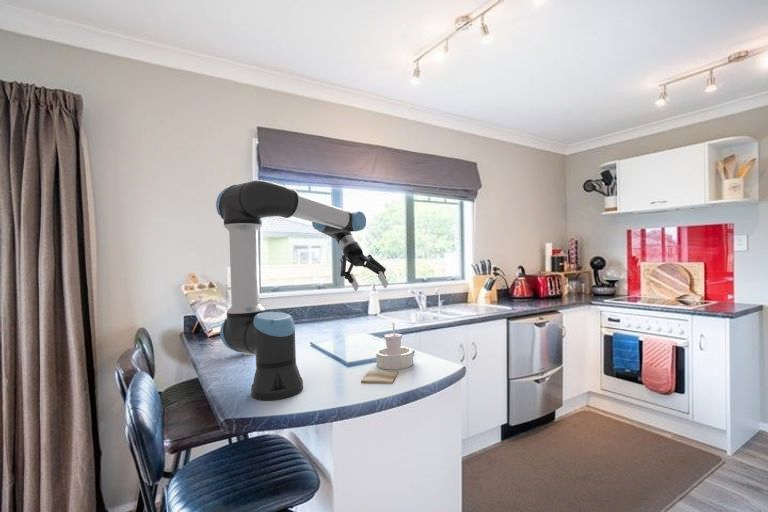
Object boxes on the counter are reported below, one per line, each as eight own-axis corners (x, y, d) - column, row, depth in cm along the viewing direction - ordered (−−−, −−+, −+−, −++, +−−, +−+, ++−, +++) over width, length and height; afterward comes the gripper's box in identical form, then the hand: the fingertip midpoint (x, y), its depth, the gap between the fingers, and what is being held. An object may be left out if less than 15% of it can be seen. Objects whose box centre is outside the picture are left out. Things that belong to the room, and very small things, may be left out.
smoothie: (397, 365, 133) (394, 325, 133) (382, 363, 137) (379, 324, 137) (406, 360, 138) (404, 322, 138) (392, 358, 142) (390, 321, 142)
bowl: (403, 371, 128) (403, 357, 128) (370, 367, 134) (369, 354, 134) (418, 360, 140) (417, 347, 140) (386, 358, 146) (386, 345, 146)
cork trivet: (392, 383, 117) (392, 381, 117) (361, 382, 119) (360, 380, 119) (398, 373, 127) (398, 371, 127) (369, 372, 129) (369, 370, 129)
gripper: (372, 254, 167) (394, 290, 155) (321, 255, 153) (340, 296, 141) (379, 241, 163) (401, 278, 151) (326, 242, 148) (347, 282, 136)
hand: (372, 287), depth 146 cm, fingers open, 13 cm apart
